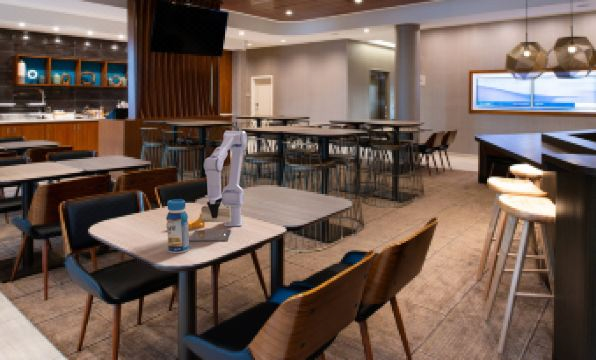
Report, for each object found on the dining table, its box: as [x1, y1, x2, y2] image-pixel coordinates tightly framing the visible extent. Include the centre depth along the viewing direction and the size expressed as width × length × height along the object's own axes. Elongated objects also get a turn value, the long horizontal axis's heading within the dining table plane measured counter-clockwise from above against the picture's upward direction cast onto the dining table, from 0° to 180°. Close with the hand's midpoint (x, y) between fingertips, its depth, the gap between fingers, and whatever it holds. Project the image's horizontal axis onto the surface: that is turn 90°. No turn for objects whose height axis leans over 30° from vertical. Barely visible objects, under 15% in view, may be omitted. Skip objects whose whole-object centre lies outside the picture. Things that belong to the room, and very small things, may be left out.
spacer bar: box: [200, 205, 231, 223], centre depth 192 cm, size 4×12×6 cm, turn 93°
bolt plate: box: [189, 229, 232, 243], centre depth 193 cm, size 14×16×1 cm
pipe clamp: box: [187, 212, 206, 230], centre depth 205 cm, size 12×4×6 cm, turn 96°
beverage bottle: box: [165, 198, 191, 254], centre depth 174 cm, size 8×8×20 cm
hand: (215, 216), depth 192 cm, fingers closed on spacer bar, 4 cm apart
